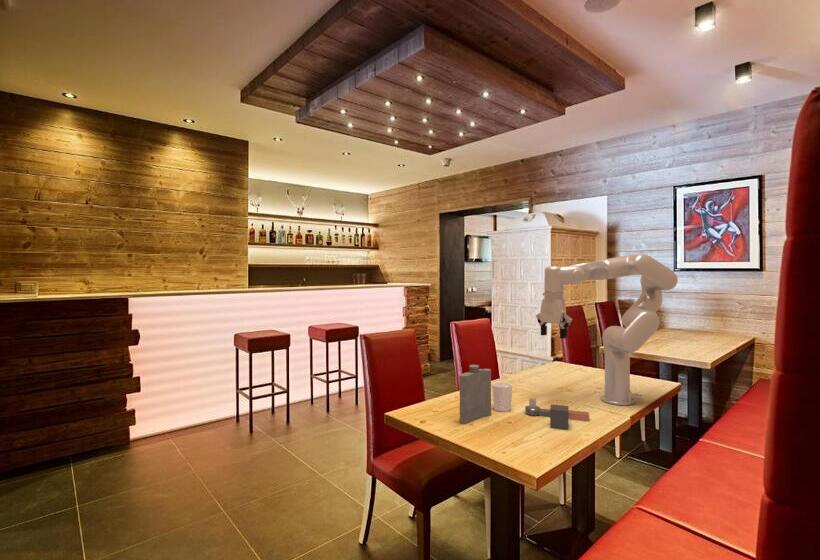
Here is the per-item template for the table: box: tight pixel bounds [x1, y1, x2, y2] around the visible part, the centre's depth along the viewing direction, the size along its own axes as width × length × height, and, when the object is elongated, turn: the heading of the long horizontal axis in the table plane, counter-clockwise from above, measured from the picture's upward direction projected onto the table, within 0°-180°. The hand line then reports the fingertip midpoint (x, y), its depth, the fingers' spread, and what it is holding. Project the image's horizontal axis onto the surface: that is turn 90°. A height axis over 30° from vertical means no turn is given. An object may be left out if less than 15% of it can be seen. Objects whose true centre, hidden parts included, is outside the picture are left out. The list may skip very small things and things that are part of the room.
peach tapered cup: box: [491, 381, 513, 412], centre depth 168 cm, size 8×8×10 cm
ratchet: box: [524, 397, 590, 422], centre depth 158 cm, size 23×6×6 cm, turn 69°
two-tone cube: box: [549, 404, 570, 431], centre depth 149 cm, size 6×6×6 cm
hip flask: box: [458, 364, 492, 425], centre depth 157 cm, size 16×4×20 cm, turn 129°
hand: (553, 336), depth 175 cm, fingers open, 9 cm apart
